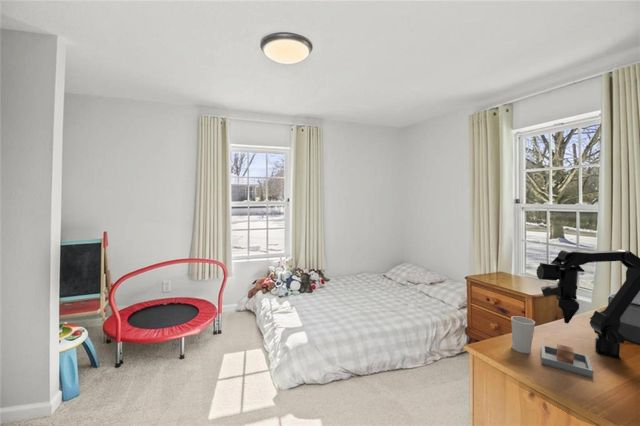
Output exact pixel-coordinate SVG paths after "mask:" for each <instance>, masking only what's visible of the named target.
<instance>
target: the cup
mask: <svg viewBox="0 0 640 426" xmlns="http://www.w3.org/2000/svg"><path fill="white" fill-rule="evenodd" d="M510 318H511V321H510V322H511V339H512V340H511V342H512V343H511V348H512V350H514V351H515V352H518V353H521V354H531V353H532V345H533V338H534V331H535V326H536V321H535V320H533V319H532V318H531V319H530V318H529V317H525V316H520V315H519V316H518V315H516V316H515V315H514V316H511V317H510Z"/></svg>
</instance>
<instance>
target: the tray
mask: <svg viewBox="0 0 640 426" xmlns="http://www.w3.org/2000/svg"><path fill="white" fill-rule="evenodd" d="M540 346H541V347H540V348H541V349H540V352H541V354H540V355H541V358H540V359H541V365H543V366H547V367H551V368H553V369H558V370H561V371H565V372H569V373H571V374H572V373H573V374H576V375H579V376H584V377H587V378H591V379H593V378H594V369H593V367H592V364H591V361H590V358H589V354H583V353H579V352H575V351H574V361H573V364H569V363H565V362H561V361H557V347H554V346H552V345H551V346H550V345H545V344H542V343H541V345H540Z"/></svg>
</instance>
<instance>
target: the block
mask: <svg viewBox="0 0 640 426" xmlns="http://www.w3.org/2000/svg"><path fill="white" fill-rule="evenodd" d="M556 348H557V361H561V362H565V363H569V364H573V361H574V352H575V351H574V347H571V346H566V345H563V344H558V343H557V345H556Z"/></svg>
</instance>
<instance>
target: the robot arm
mask: <svg viewBox="0 0 640 426" xmlns="http://www.w3.org/2000/svg"><path fill="white" fill-rule="evenodd" d="M603 262H620V263H621V264H622V266H624V267H626V268H627V269H626V270H625V281H624V282H623V283H622V285H621V286H620V288H619V289H618V290H617V291H616V294H614V296H613V298H612V299H611V301H610V302H609V304H608V305H606V306H607V307H605V309H604V310H602V311H598V310H595V311H594V312H593V314H592V315H591V316H590V317H589V319H590V321H589V325H590V328H592V329H593V332H594V333H595V334H596V337H595V339H594V349H595V350H596V352H597V354H599V355H602V356H608V357H611V358H615V359H621V356H620V352H621V349H620V348H621V344H624V343H625V342H626V340H627V338H626V337H625V336H624V335H622V333H620V332H619V330H620V328H621V318H622V317H623V315H624V314H625V312H626V311H627V309H628V308H629V307H630V305H631V304H632V303H633V301H634V299H635V298H636V297H637V295H638V294H639V293H640V257H639V256H638V255H636V254H634V253H633V252H632V251H629V250H625V249H617V250H614V249H613V250H595V251H593V250H592V251H581V250H572V249H561V250H560V251H559V252H558V254H557V256H556V257H555V258H554V260H552V261H551V262H550V263H545V262H539V265H538V267H537V269H536V276H537V277H536V278H537V279H539V280H540V281H541V280H542V281H543V280H544V281H556V282H557V283H556V285H545V286H541V287H540V289H541V292H542V295H543V297H544V298H545V297H551V296H555V297H556V300H557V307H558V308H559V309H561V313H562V314H561V315H562V316H563V321H564V323H565V324H569V323H570V321H571V320H572V318H574V316H575V315H576V313H577V312H578V311H579V310H580V302H578V301H577V299H578V296H577V293H578V292H577V290H578V274H579V272H581V273H584V272H585V269H584V268H582V266H583V265H586V264H589V263H603Z"/></svg>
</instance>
